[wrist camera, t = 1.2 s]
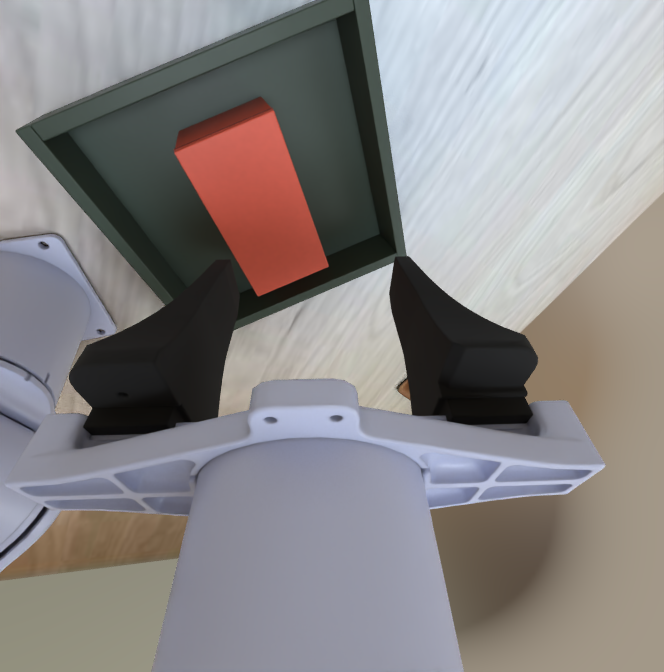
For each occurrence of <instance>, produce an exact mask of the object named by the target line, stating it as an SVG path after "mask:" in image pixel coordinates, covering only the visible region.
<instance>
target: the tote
mask: <svg viewBox="0 0 664 672" xmlns="http://www.w3.org/2000/svg"><path fill="white" fill-rule="evenodd" d="M258 97H262V98H263V99H264V100H265V102H266V103H267V104H268V105H269V106H270V107H271V108H273V110H274V112H275V114H276V117H277V120H278V123H279V126H280V129H281V131H282V134H283V137H284V140H285V143H286V146H287V149H288V151H289V154H290V157H291V160H292V163H293V166H294V168H295V171H296V174H297V177H298V180H299V183H300V185H301V188H302V191H303V194H304V197H305V200H306V202H307V205H308V208H309V211H310V214H311V217H312V219H313V222H314V225H315V228H316V231H317V234H318V236H319V239H320V242H321V245H322V248H323V251H324V253H325V256H326V259H327V262H328V265H329V267H327V268H324V269H322V270H320V271H317V272H315V273H313V274H310V275H308V276H306V277H303V278H301V279H299V280H296V281H294V282H292V283H289V284H287V285H284V286H282V287H280V288H277V289H275V290H273V291H270V292H268V293H266V294H263V295H261V296H257V294H256V293H255V291H254V289H253V287H252V286H251V284H250V282H249V281H248V279H247V277H246V275H245V274H244V272H243V270H242V269H241V267H240V265H239V263H238V262H237V260H236V258H235V257H234V255H233V253H232V251H231V250H230V248H229V246H228V245H227V243H226V241H225V239H224V238H223V236H222V234H221V233H220V231H219V229H218V227H217V226H216V224H215V222H214V221H213V219H212V217H211V215H210V214H209V212H208V210H207V209H206V207H205V205H204V204H203V202H202V200H201V198H200V197H199V195H198V193H197V192H196V190H195V188H194V186H193V185H192V183H191V181H190V180H189V178H188V176H187V174H186V173H185V171H184V169H183V168H182V166H181V164H180V162H179V161H178V159H177V157H176V156H175V154H174V150H173V149H175V146H176V141H177V137H178V132H179V131H180V130H183V129H185V128H187V127H190V126H192V125H195V124H197V123H199V122H202V121H204V120H206V119H209V118H211V117H214V116H216V115H218V114H221V113H223V112H225V111H228V110H230V109H232V108H235V107H237V106H240V105H242V104H244V103H247V102H249V101H251V100H254V99H256V98H258ZM16 133H17V134H18V135H19V136H20V138H21V139H22V140H23V141H24V142H25V143H26V145H27V146H28V147H29V148H30V149H31V150H32V151H33V153H34V154H35V155H36V156H37V157H38V158H39V160H40V161H41V162H42V163H43V164H44V165H45V166H46V168H47V169H48V170H49V171H50V172H51V173H52V175H53V176H54V177H55V178H56V179H57V180H58V182H59V183H60V184H61V185H62V186H63V187H64V188H65V190H66V191H67V192H68V193H69V194H70V195H71V197H72V198H73V199H74V200H75V201H76V202H77V203H78V205H79V206H80V207H81V208H82V209H83V210H84V212H85V213H86V214H87V215H88V216H89V217H90V219H91V220H92V221H93V222H94V223H95V224H96V225H97V227H98V228H99V229H100V230H101V231H102V232H103V234H104V235H105V236H106V237H107V238H108V239H109V240H110V242H111V243H112V244H113V245H114V246H115V247H116V249H117V250H118V251H119V252H120V253H121V254H122V256H123V257H124V258H125V259H126V260H127V261H128V262H129V264H130V265H131V266H132V267H133V268H134V269H135V271H136V272H137V273H138V274H139V275H140V276H141V277H142V279H143V280H144V281H145V282H146V283H147V284H148V286H149V287H150V288H151V289H152V290H153V291H154V292H155V294H156V295H157V296H158V297H159V298H160V299H161V301H162V302H163V303H164V304H165V305H167V304H169V303H170V302H171V301H173V300H174V299H175V298H176V297H178V296H179V295H180V294H181V293H182V292H183V291H184V290H186V289H187V288H188V287H189V286H190V285H191V284H192V283H193V282H194V281H195V280H196V279H197V278H198V277H200V276H201V275H202V274H203V273H204V272H205V270H206V269H207V268H208V267H209V266H210V265H211V264H212V263H213V262H215V261H216V260H225V259H231V263H232V267H233V271H234V275H235V279H236V283H237V287H238V291H239V295H240V299H239V308H238V315H237V319H236V323H235V326H234V330H236V329H238V328H240V327H243V326H245V325H247V324H250V323H252V322H255V321H257V320H259V319H262V318H264V317H266V316H269V315H271V314H273V313H276V312H278V311H280V310H283V309H285V308H287V307H290V306H292V305H295V304H297V303H299V302H302V301H304V300H306V299H309V298H311V297H313V296H316V295H318V294H320V293H323V292H325V291H327V290H330V289H332V288H335V287H337V286H339V285H342V284H344V283H346V282H349V281H351V280H353V279H356V278H358V277H360V276H363V275H365V274H367V273H370V272H372V271H375V270H377V269H379V268H382V267H384V266H386V265H389V264H391V263H393V262H394V260H395V257H397V256H406V249H405V242H404V236H403V229H402V222H401V215H400V208H399V202H398V195H397V188H396V181H395V175H394V168H393V161H392V154H391V147H390V141H389V134H388V127H387V120H386V114H385V107H384V100H383V93H382V87H381V80H380V73H379V66H378V59H377V53H376V46H375V39H374V32H373V26H372V19H371V12H370V5H369V0H315V1H313V2H310V3H308V4H305V5H303V6H301V7H298V8H296V9H294V10H291V11H289V12H286V13H284V14H282V15H279V16H277V17H275V18H272V19H270V20H268V21H265V22H263V23H260V24H258V25H256V26H253V27H251V28H249V29H246V30H244V31H241V32H239V33H237V34H234V35H232V36H230V37H227V38H225V39H222V40H220V41H218V42H215V43H213V44H211V45H208V46H206V47H203V48H201V49H199V50H196V51H194V52H192V53H189V54H187V55H185V56H182V57H180V58H177V59H175V60H173V61H170V62H168V63H166V64H163V65H161V66H158V67H156V68H154V69H151V70H149V71H147V72H144V73H142V74H139V75H137V76H135V77H132V78H130V79H128V80H125V81H123V82H120V83H118V84H116V85H113V86H111V87H109V88H106V89H104V90H101V91H99V92H97V93H94V94H92V95H90V96H87V97H85V98H83V99H80V100H78V101H75V102H73V103H71V104H68V105H66V106H64V107H61V108H59V109H56V110H54V111H52V112H49V113H47V114H45V115H42V116H41V117H39V118H37V119H35V120H33V121H32V122H30V123H28V124H26V125H24V126H23V127H21V128H19V129H17V130H16Z"/></svg>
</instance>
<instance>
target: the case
mask: <svg viewBox="0 0 664 672" xmlns="http://www.w3.org/2000/svg"><path fill="white" fill-rule="evenodd" d="M173 150H174V154H175V156H176V157H177V159H178V161H179V162H180V164H181V166H182V168H183V169H184V171H185V173H186V174H187V176H188V178H189V180H190V181H191V183H192V185H193V186H194V188H195V190H196V192H197V193H198V195H199V197H200V198H201V200H202V202H203V204H204V205H205V207H206V209H207V210H208V212H209V214H210V215H211V217H212V219H213V221H214V222H215V224H216V226H217V227H218V229H219V231H220V233H221V234H222V236H223V238H224V239H225V241H226V243H227V245H228V246H229V248H230V250H231V251H232V253H233V255H234V257H235V258H236V260H237V262H238V263H239V265H240V267H241V269H242V270H243V272H244V274H245V275H246V277H247V279H248V281H249V282H250V284H251V286H252V287H253V289H254V291H255V293H256V294H257V296H261V295H263V294H266V293H268V292H270V291H273V290H275V289H277V288H280V287H282V286H284V285H287V284H289V283H292V282H294V281H296V280H299V279H301V278H303V277H306V276H308V275H310V274H313V273H315V272H317V271H320V270H322V269H324V268H327V267H329V265H328V262H327V259H326V256H325V253H324V251H323V248H322V245H321V242H320V239H319V236H318V234H317V231H316V228H315V225H314V222H313V219H312V217H311V214H310V211H309V208H308V205H307V202H306V200H305V197H304V194H303V191H302V188H301V185H300V183H299V180H298V177H297V174H296V171H295V168H294V166H293V163H292V160H291V157H290V154H289V151H288V149H287V146H286V143H285V140H284V137H283V134H282V131H281V129H280V126H279V123H278V120H277V117H276V114H275V112H274V110H273V108H271V107H270V106H269V105H268V104H267V103H266V102H265V100H264V99H263V98H262V97H258V98H256V99H254V100H251V101H249V102H247V103H244V104H242V105H240V106H237V107H235V108H232V109H230V110H228V111H225V112H223V113H221V114H218V115H216V116H214V117H211V118H209V119H206V120H204V121H202V122H199V123H197V124H195V125H192V126H190V127H187V128H185V129H183V130H180V131H179V132H178V137H177V141H176V146H175V149H173Z"/></svg>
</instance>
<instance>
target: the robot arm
mask: <svg viewBox="0 0 664 672" xmlns="http://www.w3.org/2000/svg"><path fill="white" fill-rule="evenodd" d="M41 241H42V242H46V243H47V244H48V245H49V247H46V246H43V245H42V244H41V243H40V242H41ZM389 295H390V303H391V309H392V314H393V318H394V322H395V325H396V329H397V332H398V336H399V339H400V343H401V346H402V350H403V354H404V359H405V365H406V371H407V378H408V385H409V392H410V400H411V408H412V415H408V414H402V413H397V412H391V411H385V410H380V409H374V408H368V407H362V406H359V404H358V394H357V391H356V388H355V386H353V385H352V384H350V383H348V382H347V381H345V380H340V379H292V380H271V381H266V382H262V383H260V384H259V385H257V386H256V387H254V388H253V389H252V395H251V401H250V408H249V410H247V411H243V412H238V413H234V414H230V415H226V416H221V417H218V411H219V401H220V393H221V385H222V378H223V371H224V365H225V359H226V355H227V351H228V348H229V344H230V341H231V337H232V333H233V330H234V326H235V323H236V319H237V315H238V308H239V299H240V295H239V291H238V287H237V283H236V279H235V275H234V271H233V267H232V263H231V259H225V260H216V261H215V262H213V263H212V264H211V265H210V266H209V267H208V268H207V269H206V270H205V272H204V273H203V274H202V275H201V276H200V277H198V278H197V279H196V280H195V281H194V282H193V283H192V284H191V285H190V286H189V287H188V288H187V289H186V290H184V291H183V292H182V293H181V294H180V295H179V296H178V297H176V298H175V299H174V300H173V301H171V302H170V303H169V304H167V305H166V306H165V307H163V308H162V309H160V310H159V311H157V312H156V313H154V314H152V315H151V316H149V317H147V318H146V319H144V320H142V321H141V322H139V323H137V324H135V325H133V326H131V327H129V328H127V329H125V330H123V331H121V332H119V333H117V334H114V333H115V332H116V329H117V328H116V325H115V324H114V322H113V320H112V319H111V317H110V315H109V314H108V312H107V311H106V309H105V307H104V306H103V304H102V302H101V301H100V299H99V297H98V296H97V294H96V293H95V291H94V289H93V288H92V286H91V284H90V283H89V281H88V279H87V278H86V276H85V275H84V273H83V271H82V270H81V268H80V266H79V265H78V263H77V262H76V260H75V258H74V257H73V255H72V253H71V252H70V250H69V248H68V247H67V245H66V244H65V242H64V240H63V239H62V238H61V237H59V236H58V235H55V234H46V235H39V236H31V237H24V238H17V239H10V240H2V241H0V572H1V571H2V570H3V569H4V568H5V567H7V566H8V565H9V564H10V563H12V562H13V561H14V560H15V559H16V558H18V557H19V556H20V555H21V554H23V553H24V552H25V551H26V550H27V549H28V548H29V547H30V546H31V545H33V544H34V543H35V542H36V541H37V540H38V539H39V538H40V537H41V536H42V535H43V534H44V533H45V532H46V530H47V529H48V528H49V527H50V526H51V524H52V523H53V522H54V520H55V519H56V518H57V516H58V515H59V513H60V512H61V510H94V511H119V512H135V513H149V514H164V515H178V516H189V517H188V521H187V525H186V529H185V534H184V538H183V542H182V546H181V550H180V554H179V559H178V563H177V567H176V571H175V575H174V579H173V584H172V588H171V592H170V596H169V600H168V605H167V609H166V613H165V618H164V622H163V625H162V629H161V634H160V638H159V643H158V646H157V650H156V654H155V659H154V663H153V667H152V671H151V672H464V670H463V666H462V661H461V656H460V651H459V647H458V642H457V638H456V633H455V628H454V623H453V618H452V614H451V609H450V604H449V600H448V595H447V590H446V586H445V581H444V576H443V571H442V567H441V562H440V557H439V552H438V548H437V543H436V538H435V533H434V529H433V524H432V519H431V515H430V510H429V509H435V508H442V507H449V506H457V505H464V504H471V503H478V502H485V501H493V500H500V499H508V498H516V497H527V496H538V495H557V494H567V493H569V492H570V491H571V490H573V489H574V488H576V487H577V486H579V485H580V484H581V483H583V482H584V481H586V480H587V479H589V478H590V477H591V476H593V475H594V474H595V473H597V472H599V471H600V470H601V469H603V468H604V467H605V463H604V462H603V460H602V458H601V456H600V455H599V453H598V451H597V450H596V448H595V446H594V445H593V443H592V441H591V440H590V438H589V436H588V435H587V433H586V431H585V430H584V428H583V426H582V425H581V423H580V421H579V419H578V418H577V416H576V414H575V413H574V411H573V409H572V408H571V406H570V404H569V403H568V401H564V400H561V401H537V402H533V403H531V404H529V405H528V403H527V401H526V399H525V397H526V396H527V391H526V388H525V387H524V384H525V382H526V381H527V380H528V378H529V377H530V375H531V374H532V372H533V371H534V370H535V368H536V366H537V363H538V357H537V355H536V353H535V351H534V349H533V347H532V346H531V344H530V342H529V341H528V340H527V338H526V336H525V335H523V334H520V333H517V332H515V331H512V330H510V329H507V328H504V327H502V326H500V325H498V324H495V323H493V322H491V321H489V320H487V319H485V318H483V317H481V316H479V315H478V314H476V313H474V312H472V311H471V310H469V309H467V308H466V307H464V306H463V305H461V304H460V303H459V302H457V301H456V300H454V299H453V298H452V297H450V296H449V295H448V294H447V293H445V292H444V291H443V290H442V289H441V288H440V287H438V286H437V285H436V284H435V283H434V282H433V281H432V280H431V279H430V278H429V277H428V276H427V275H426V274H425V273H424V272H423V271H422V270H421V269H420V268H419V267H418V266H417V264H416V263H415V262H414V261H413V260H412V259H411V258H410V257H409V256H397V257H395V260H394V266H393V273H392V279H391V286H390V292H389ZM98 329H102V330H104V331H99V330H98ZM113 334H114V335H113ZM109 335H112V336H110V337H107V338H105V339H102V340H100V341H97V342H95V343H92V344H89V345H87V346H86V348H85V349H84V351H83V352H82V354H81V355H80V357H79V359H78V360H77V362H76V363H75V365H74V367H73V368H72V370H71V371H70V368H71V365H72V363H73V360H74V357H75V355H76V352H77V350H78V347H79V344H80V342H81V341H83V340H88V339H93V338H98V337H104V336H109ZM69 371H70V374H69V380H70V383H71V385H72V386H73V387H74V389H75V390H76V391H77V392H78V393H79V394H80V395H81V396H82V397H83V398H84V399H85V400H86V401H87V403H88V404H89V405H90V406H91V407H92V410H91V412H90V414H89V416H87V415H84V414H78V413H69V414H56V412H55V407H56V405H57V402H58V399H59V397H60V394H61V392H62V389H63V386H64V384H65V381H66V378H67V376H68V373H69Z"/></svg>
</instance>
